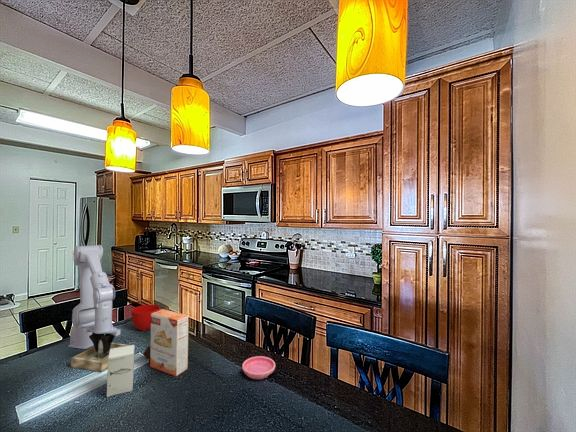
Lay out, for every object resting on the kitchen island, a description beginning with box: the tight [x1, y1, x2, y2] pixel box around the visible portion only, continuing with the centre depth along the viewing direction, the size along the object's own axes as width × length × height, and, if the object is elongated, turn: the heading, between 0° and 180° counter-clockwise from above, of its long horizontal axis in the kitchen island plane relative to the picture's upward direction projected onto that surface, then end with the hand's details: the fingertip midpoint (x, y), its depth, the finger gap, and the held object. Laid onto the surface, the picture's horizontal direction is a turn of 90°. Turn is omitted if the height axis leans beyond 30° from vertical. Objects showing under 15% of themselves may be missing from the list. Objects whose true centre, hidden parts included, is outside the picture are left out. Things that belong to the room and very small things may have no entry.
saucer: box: [241, 355, 276, 380], centre depth 101 cm, size 12×12×3 cm
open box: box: [70, 342, 130, 373], centre depth 107 cm, size 14×14×4 cm
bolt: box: [143, 345, 151, 361], centre depth 116 cm, size 6×5×15 cm
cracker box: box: [149, 308, 190, 377], centre depth 102 cm, size 14×6×21 cm, turn 65°
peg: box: [98, 338, 108, 358], centre depth 107 cm, size 3×3×7 cm
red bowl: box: [131, 304, 161, 332], centre depth 137 cm, size 13×17×10 cm
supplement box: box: [106, 344, 135, 398], centre depth 90 cm, size 7×7×13 cm
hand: (102, 351), depth 107 cm, fingers closed on peg, 3 cm apart
